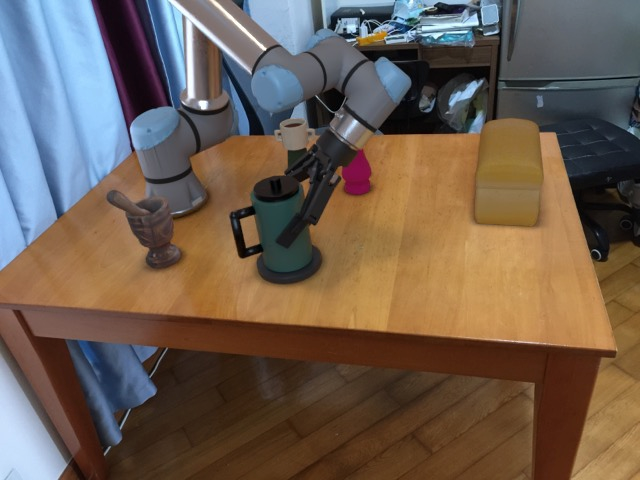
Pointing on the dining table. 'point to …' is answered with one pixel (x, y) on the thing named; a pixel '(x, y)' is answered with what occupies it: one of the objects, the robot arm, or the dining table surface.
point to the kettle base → (293, 275)
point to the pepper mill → (357, 175)
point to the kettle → (274, 224)
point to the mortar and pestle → (150, 226)
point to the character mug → (294, 137)
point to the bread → (508, 173)
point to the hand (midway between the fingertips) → (275, 226)
